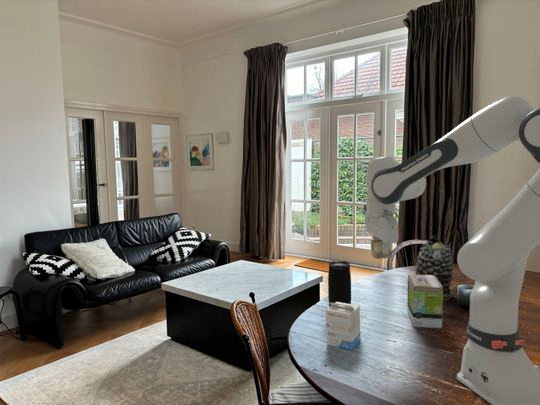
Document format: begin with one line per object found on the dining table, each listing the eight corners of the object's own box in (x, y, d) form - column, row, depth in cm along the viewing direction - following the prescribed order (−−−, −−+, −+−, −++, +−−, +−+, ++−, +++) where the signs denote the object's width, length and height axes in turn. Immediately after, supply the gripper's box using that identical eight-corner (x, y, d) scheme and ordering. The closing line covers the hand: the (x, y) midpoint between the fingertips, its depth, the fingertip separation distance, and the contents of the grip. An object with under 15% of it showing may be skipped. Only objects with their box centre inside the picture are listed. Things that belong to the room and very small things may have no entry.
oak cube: (391, 257, 128) (391, 242, 127) (376, 258, 127) (376, 243, 127) (385, 254, 133) (385, 239, 132) (370, 255, 132) (370, 239, 132)
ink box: (361, 339, 132) (360, 300, 131) (351, 350, 125) (351, 308, 124) (336, 334, 137) (335, 296, 135) (326, 344, 130) (325, 304, 128)
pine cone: (460, 303, 160) (461, 241, 157) (420, 302, 163) (420, 241, 160) (446, 286, 180) (447, 231, 178) (411, 286, 183) (411, 231, 180)
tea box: (443, 329, 138) (443, 286, 136) (412, 327, 140) (412, 286, 138) (434, 312, 153) (435, 274, 151) (406, 311, 155) (406, 273, 153)
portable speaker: (350, 308, 159) (350, 259, 157) (352, 318, 150) (351, 266, 148) (328, 308, 160) (327, 259, 158) (328, 317, 151) (327, 266, 149)
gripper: (404, 212, 118) (404, 258, 120) (379, 204, 138) (379, 244, 140) (383, 213, 118) (383, 259, 119) (361, 205, 138) (361, 245, 139)
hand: (381, 251), depth 130 cm, fingers closed on oak cube, 5 cm apart
